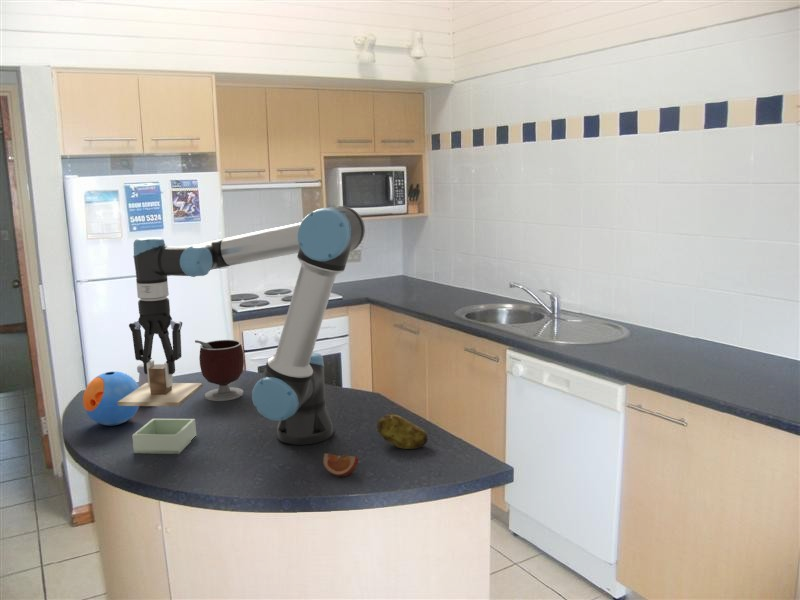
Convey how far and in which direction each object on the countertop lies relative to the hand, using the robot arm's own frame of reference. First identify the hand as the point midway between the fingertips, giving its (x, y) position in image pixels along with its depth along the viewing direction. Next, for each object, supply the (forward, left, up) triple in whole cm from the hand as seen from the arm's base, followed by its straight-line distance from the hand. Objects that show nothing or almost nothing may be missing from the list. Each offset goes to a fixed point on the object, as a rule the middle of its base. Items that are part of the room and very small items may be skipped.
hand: (161, 385), depth 175 cm
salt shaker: (+20, -32, -17) cm, 41 cm away
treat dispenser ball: (+22, -15, -17) cm, 31 cm away
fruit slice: (-50, +16, -17) cm, 55 cm away
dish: (0, 0, -16) cm, 16 cm away
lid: (0, 0, -3) cm, 3 cm away
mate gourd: (-1, -41, -17) cm, 44 cm away
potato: (-63, -1, -17) cm, 65 cm away
